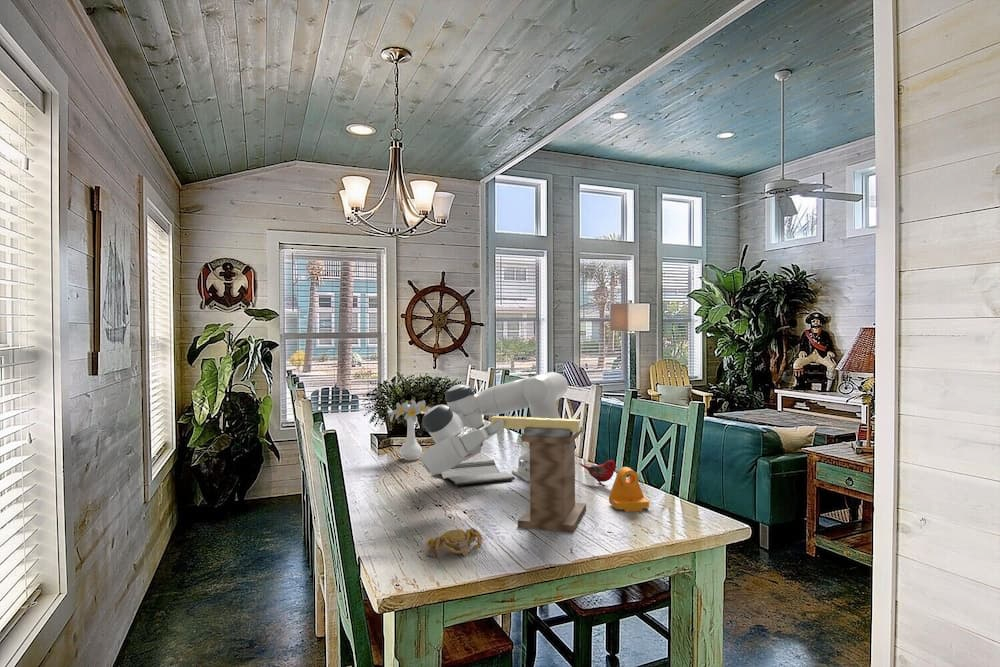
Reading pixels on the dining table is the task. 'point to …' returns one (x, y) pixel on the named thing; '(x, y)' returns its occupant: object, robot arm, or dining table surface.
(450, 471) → the mat
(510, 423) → the yellow bar
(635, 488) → the bracket
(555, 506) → the stand
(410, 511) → the dining table surface
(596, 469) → the decorative bird figurine
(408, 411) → the flower vase
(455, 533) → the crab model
